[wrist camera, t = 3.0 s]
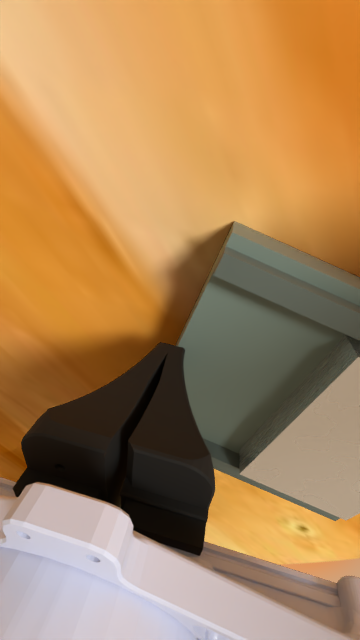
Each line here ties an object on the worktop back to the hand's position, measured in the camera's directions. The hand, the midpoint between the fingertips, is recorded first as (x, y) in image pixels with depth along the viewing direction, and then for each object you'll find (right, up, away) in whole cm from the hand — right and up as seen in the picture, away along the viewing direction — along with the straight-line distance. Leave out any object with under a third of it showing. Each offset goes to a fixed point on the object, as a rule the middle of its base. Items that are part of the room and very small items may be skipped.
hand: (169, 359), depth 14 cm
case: (+7, -1, +3) cm, 8 cm away
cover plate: (+9, -4, +1) cm, 10 cm away
